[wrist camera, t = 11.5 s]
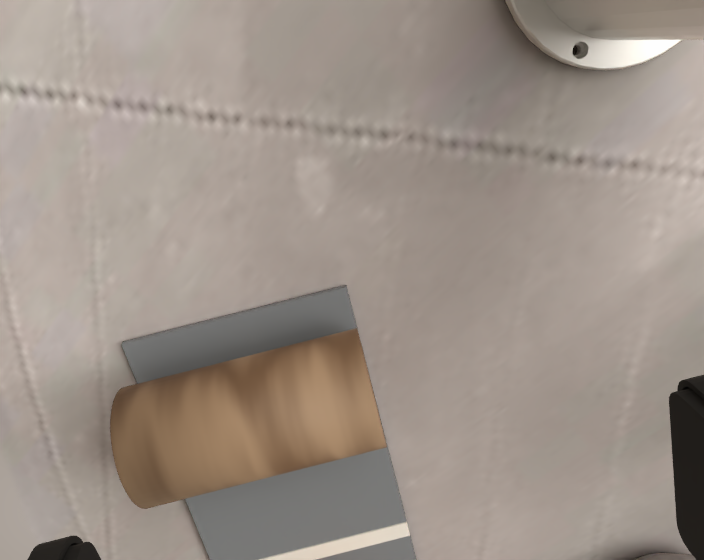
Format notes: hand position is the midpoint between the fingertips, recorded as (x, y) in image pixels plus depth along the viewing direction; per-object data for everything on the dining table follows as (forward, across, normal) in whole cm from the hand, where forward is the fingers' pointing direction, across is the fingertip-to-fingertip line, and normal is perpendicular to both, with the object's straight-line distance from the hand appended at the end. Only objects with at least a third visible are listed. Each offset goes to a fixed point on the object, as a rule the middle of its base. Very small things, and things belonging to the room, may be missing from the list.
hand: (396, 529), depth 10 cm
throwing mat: (+28, +7, +21) cm, 36 cm away
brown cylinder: (+28, +7, +12) cm, 31 cm away
